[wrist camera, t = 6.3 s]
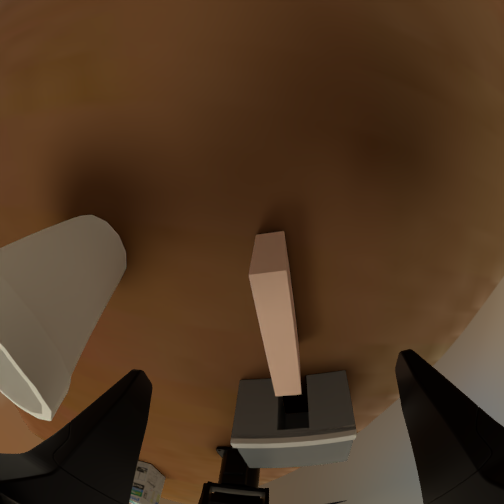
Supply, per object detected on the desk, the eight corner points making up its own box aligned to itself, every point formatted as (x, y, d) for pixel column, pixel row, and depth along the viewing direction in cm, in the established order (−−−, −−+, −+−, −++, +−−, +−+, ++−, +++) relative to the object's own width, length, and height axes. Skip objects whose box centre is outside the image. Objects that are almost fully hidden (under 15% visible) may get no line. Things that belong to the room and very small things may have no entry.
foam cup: (144, 312, 22) (73, 441, 10) (62, 285, 22) (-19, 376, 10) (145, 204, 18) (3, 323, 6) (51, 188, 18) (-74, 261, 6)
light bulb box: (124, 455, 43) (111, 493, 33) (152, 463, 42) (139, 503, 32) (142, 471, 47) (131, 504, 37) (166, 477, 46) (157, 512, 37)
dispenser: (341, 411, 26) (347, 464, 20) (254, 419, 28) (249, 471, 22) (345, 370, 23) (356, 434, 17) (240, 380, 25) (230, 443, 18)
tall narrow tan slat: (298, 345, 22) (301, 394, 17) (276, 347, 22) (275, 396, 17) (284, 230, 17) (286, 270, 13) (255, 234, 18) (248, 274, 13)
